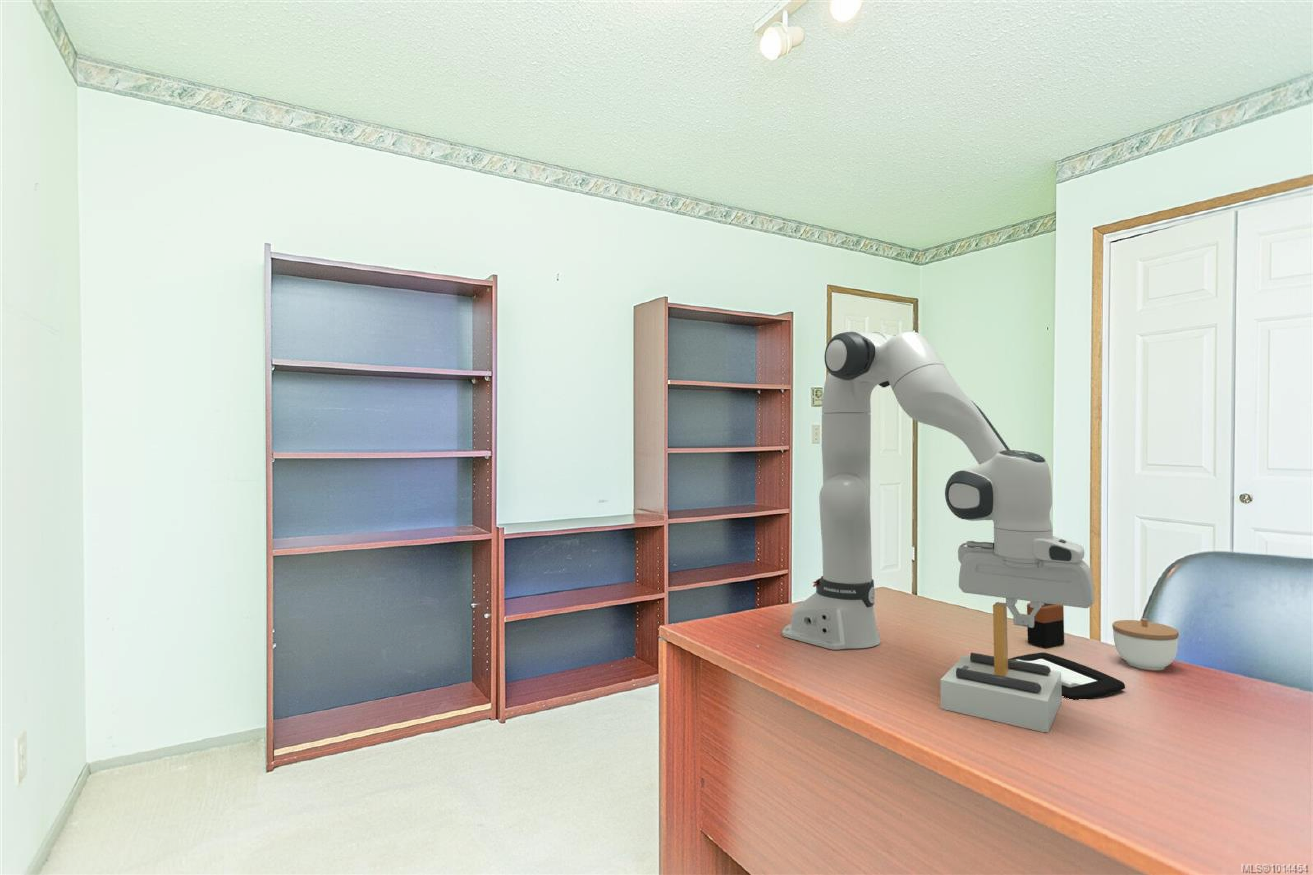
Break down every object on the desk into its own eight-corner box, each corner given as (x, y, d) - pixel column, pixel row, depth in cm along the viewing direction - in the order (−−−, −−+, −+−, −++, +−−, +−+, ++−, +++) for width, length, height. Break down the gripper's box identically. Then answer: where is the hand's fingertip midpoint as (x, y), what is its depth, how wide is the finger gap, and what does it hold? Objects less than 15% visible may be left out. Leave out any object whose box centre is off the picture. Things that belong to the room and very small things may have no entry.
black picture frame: (987, 658, 133) (1043, 645, 136) (989, 672, 133) (1045, 658, 136) (1070, 694, 114) (1133, 678, 117) (1072, 710, 114) (1134, 694, 117)
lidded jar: (1138, 654, 138) (1137, 610, 138) (1193, 670, 128) (1191, 623, 128) (1100, 660, 135) (1099, 615, 135) (1153, 677, 125) (1152, 628, 125)
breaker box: (941, 708, 112) (940, 670, 112) (964, 680, 125) (963, 646, 125) (1048, 733, 102) (1047, 691, 102) (1061, 700, 115) (1060, 663, 115)
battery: (1065, 644, 145) (1064, 600, 145) (1044, 649, 142) (1043, 603, 142) (1047, 639, 149) (1046, 596, 149) (1026, 643, 146) (1025, 599, 146)
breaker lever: (994, 674, 113) (992, 605, 113) (998, 669, 115) (996, 602, 115) (1004, 676, 112) (1003, 606, 112) (1008, 671, 114) (1006, 603, 114)
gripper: (953, 542, 115) (954, 619, 115) (1091, 553, 103) (1092, 641, 103) (962, 537, 120) (963, 612, 120) (1094, 548, 107) (1096, 631, 107)
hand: (1023, 625), depth 111 cm, fingers closed
